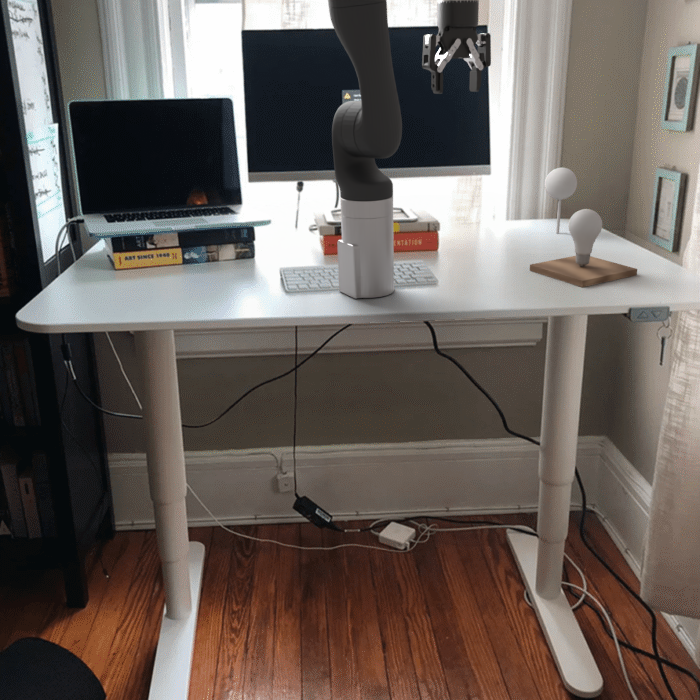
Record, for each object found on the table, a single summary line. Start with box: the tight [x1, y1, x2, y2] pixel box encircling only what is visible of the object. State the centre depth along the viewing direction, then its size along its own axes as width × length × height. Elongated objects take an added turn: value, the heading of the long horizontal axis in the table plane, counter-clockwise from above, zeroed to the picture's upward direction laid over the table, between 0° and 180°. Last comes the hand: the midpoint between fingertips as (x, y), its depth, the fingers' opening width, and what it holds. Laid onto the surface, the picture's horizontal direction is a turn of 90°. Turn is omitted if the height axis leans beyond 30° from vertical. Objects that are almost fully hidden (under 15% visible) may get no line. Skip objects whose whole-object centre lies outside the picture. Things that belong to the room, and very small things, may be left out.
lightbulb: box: [568, 208, 603, 267], centre depth 151 cm, size 6×6×11 cm
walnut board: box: [529, 255, 638, 288], centre depth 153 cm, size 14×14×1 cm
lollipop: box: [544, 167, 578, 234], centre depth 182 cm, size 7×7×15 cm
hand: (456, 92), depth 151 cm, fingers open, 8 cm apart
